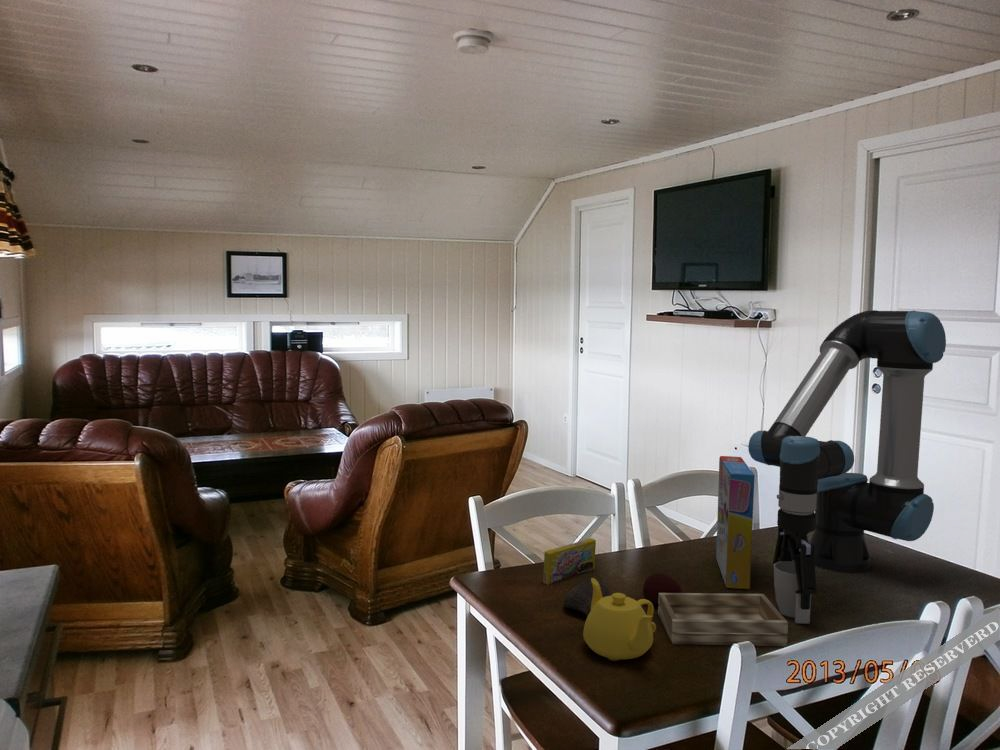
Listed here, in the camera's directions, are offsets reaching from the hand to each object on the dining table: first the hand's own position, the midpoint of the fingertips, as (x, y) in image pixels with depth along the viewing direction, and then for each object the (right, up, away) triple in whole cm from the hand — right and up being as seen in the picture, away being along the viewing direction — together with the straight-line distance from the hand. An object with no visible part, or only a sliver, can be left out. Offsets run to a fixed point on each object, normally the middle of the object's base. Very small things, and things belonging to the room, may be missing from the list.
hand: (792, 611), depth 159 cm
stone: (-46, -1, +2) cm, 46 cm away
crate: (-18, -1, -9) cm, 20 cm away
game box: (-6, +2, +23) cm, 24 cm away
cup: (0, -1, 0) cm, 1 cm away
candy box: (-46, +2, +19) cm, 50 cm away
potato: (-27, 0, +4) cm, 27 cm away
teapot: (-39, -2, -18) cm, 43 cm away
